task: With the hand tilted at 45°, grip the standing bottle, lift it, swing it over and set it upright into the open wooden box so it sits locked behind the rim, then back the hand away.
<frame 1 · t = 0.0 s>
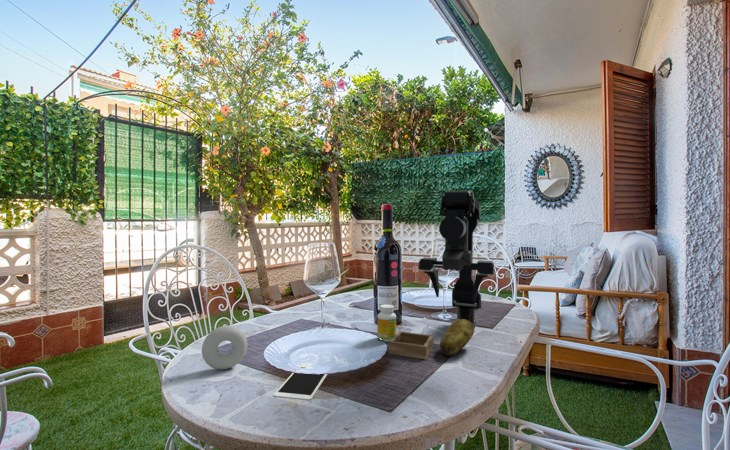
hand: (455, 298, 96), 15 cm above the table, tool pointing down, fingers open, 9 cm apart
donut: (225, 369, 85), on the table
cell phone: (305, 383, 80), on the table
open wooden box: (411, 350, 99), on the table
supplement bottle: (386, 339, 108), on the table
potato: (455, 351, 99), on the table
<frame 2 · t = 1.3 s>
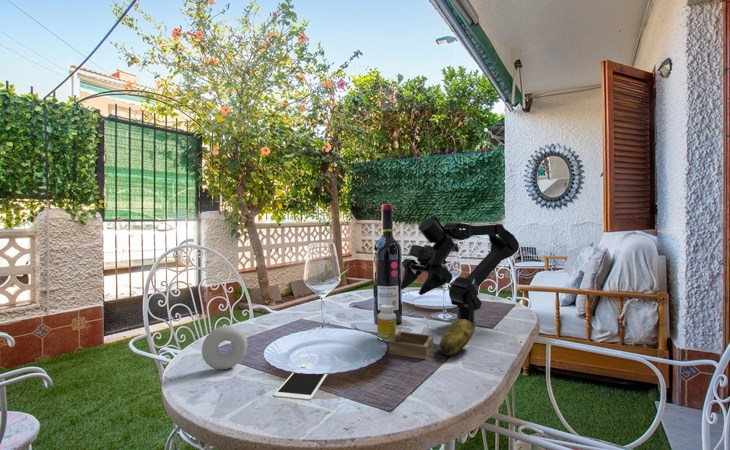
hand: (410, 291, 111), 13 cm above the table, tool tilted 45°, fingers open, 9 cm apart
nothing on the table moved.
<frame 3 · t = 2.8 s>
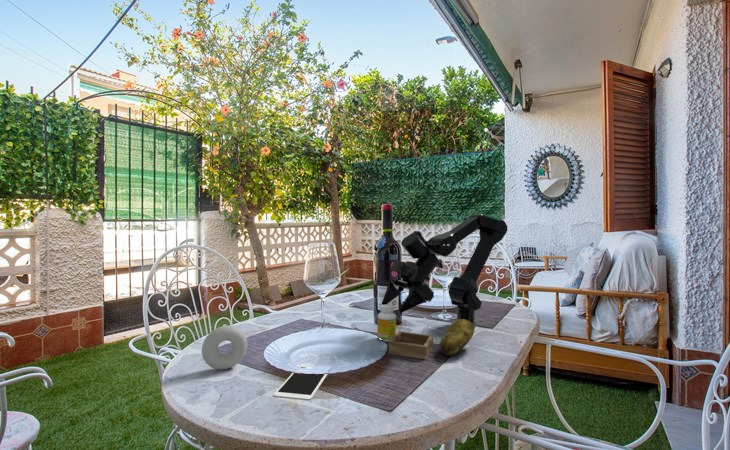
hand: (390, 308, 108), 9 cm above the table, tool tilted 45°, fingers open, 9 cm apart
nothing on the table moved.
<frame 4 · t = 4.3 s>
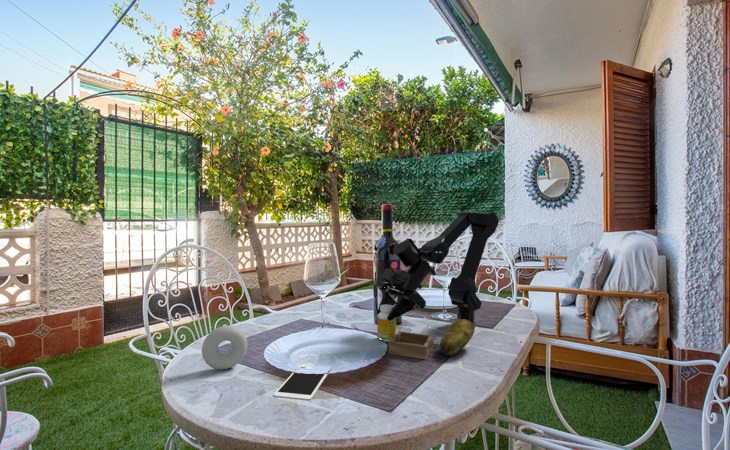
hand: (382, 317, 107), 7 cm above the table, tool tilted 45°, fingers closed on supplement bottle, 5 cm apart
supplement bottle: (386, 339, 108), on the table, touching gripper
everything else where it was.
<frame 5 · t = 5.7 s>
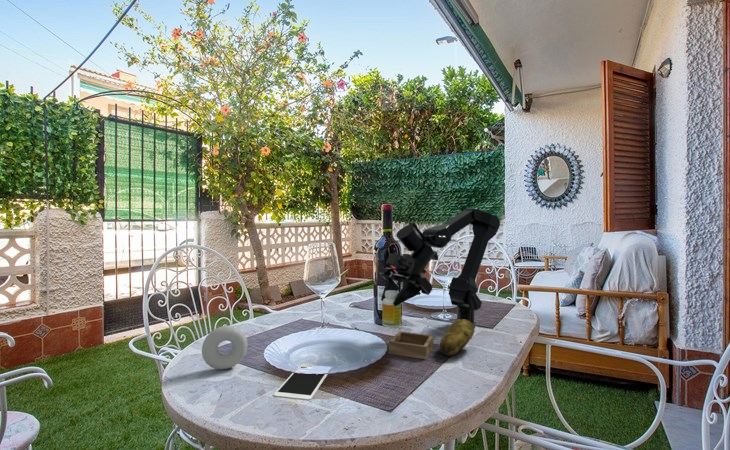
hand: (388, 302, 105), 11 cm above the table, tool tilted 45°, fingers closed on supplement bottle, 5 cm apart
supplement bottle: (391, 325, 106), point 4 cm above the table, touching gripper
everything else where it was.
when the fingers open (9 cm above the table, at t = 7.6 s): supplement bottle drops 1 cm, resting on open wooden box.
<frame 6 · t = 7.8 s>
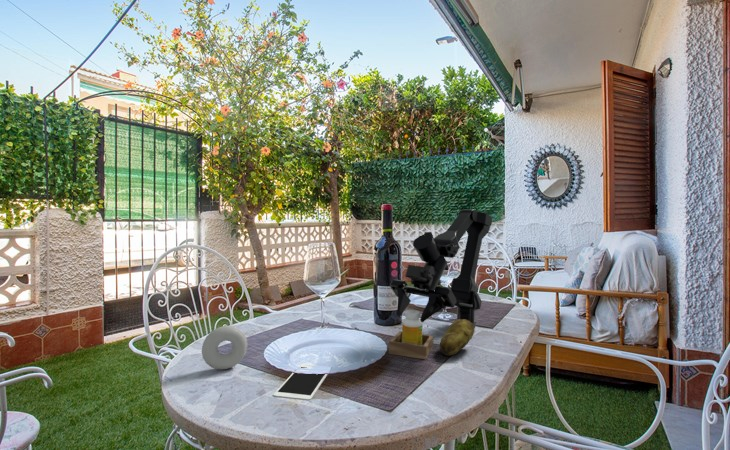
hand: (409, 318, 98), 9 cm above the table, tool tilted 45°, fingers open, 7 cm apart
supplement bottle: (411, 348, 99), resting on open wooden box
everything else where it was.
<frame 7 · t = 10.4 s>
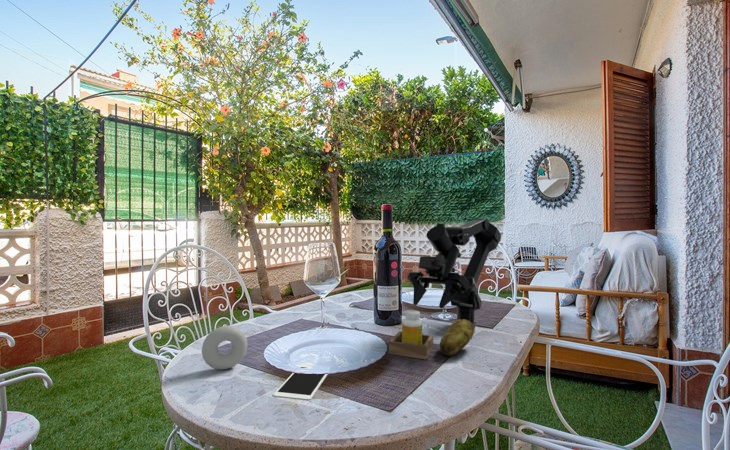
hand: (427, 306, 104), 11 cm above the table, tool tilted 40°, fingers open, 9 cm apart
nothing on the table moved.
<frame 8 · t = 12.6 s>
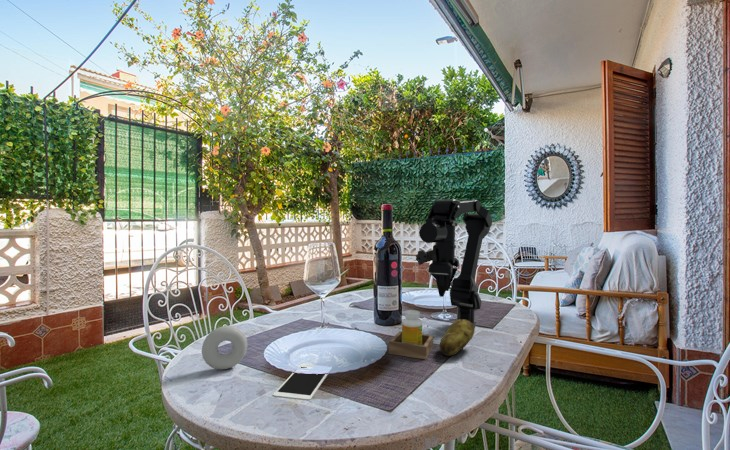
hand: (444, 293, 111), 13 cm above the table, tool pointing down, fingers open, 9 cm apart
nothing on the table moved.
at the end: supplement bottle 0.2 cm off-centre on the open wooden box, point 0.4 cm above the open wooden box's base; supplement bottle tilted 0°; the gripper is holding nothing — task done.
